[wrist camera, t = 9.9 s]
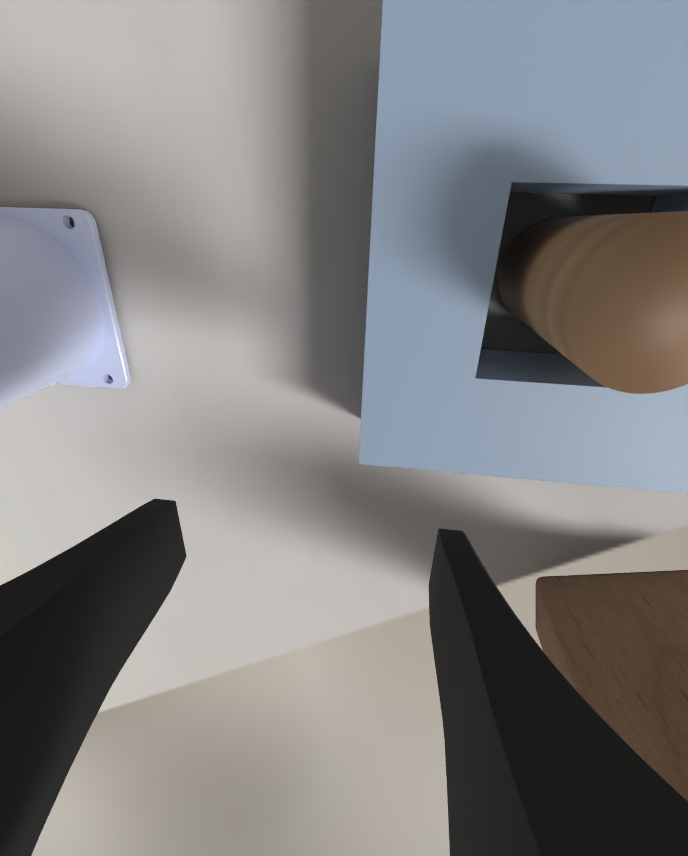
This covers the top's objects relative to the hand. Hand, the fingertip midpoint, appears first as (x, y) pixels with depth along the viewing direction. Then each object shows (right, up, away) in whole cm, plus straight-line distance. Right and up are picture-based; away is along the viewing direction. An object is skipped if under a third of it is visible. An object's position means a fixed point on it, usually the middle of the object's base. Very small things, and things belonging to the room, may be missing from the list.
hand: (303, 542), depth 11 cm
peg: (+9, +9, +5) cm, 14 cm away
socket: (+9, +9, +5) cm, 14 cm away
